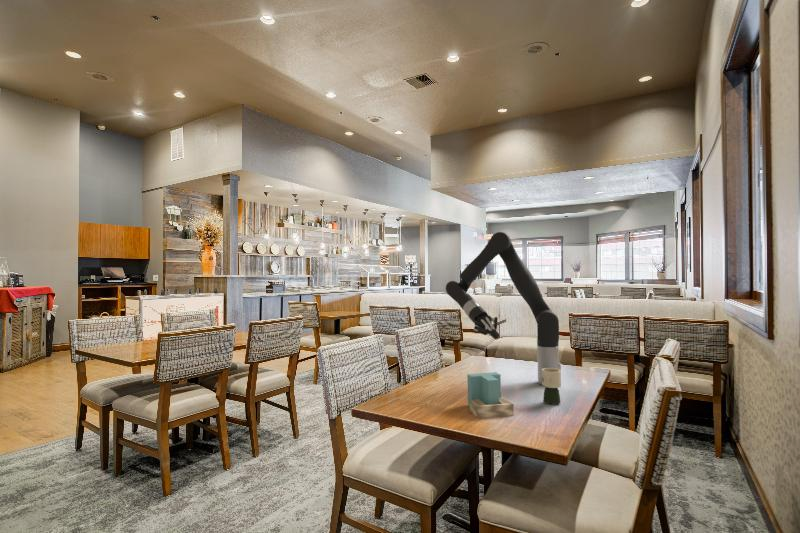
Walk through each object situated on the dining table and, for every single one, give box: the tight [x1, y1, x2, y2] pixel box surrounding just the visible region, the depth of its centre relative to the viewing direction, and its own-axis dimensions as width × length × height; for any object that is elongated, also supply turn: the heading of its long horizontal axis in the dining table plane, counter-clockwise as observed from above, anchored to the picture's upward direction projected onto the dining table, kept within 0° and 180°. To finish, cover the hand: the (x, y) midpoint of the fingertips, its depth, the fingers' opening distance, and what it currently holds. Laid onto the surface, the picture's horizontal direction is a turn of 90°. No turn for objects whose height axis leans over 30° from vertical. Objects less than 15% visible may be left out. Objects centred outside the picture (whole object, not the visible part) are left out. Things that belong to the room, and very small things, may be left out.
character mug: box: [541, 368, 562, 405], centre depth 166 cm, size 11×7×13 cm, turn 145°
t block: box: [467, 371, 502, 407], centre depth 161 cm, size 12×11×12 cm
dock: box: [469, 396, 515, 419], centre depth 156 cm, size 14×8×4 cm, turn 100°
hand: (497, 337), depth 184 cm, fingers closed
